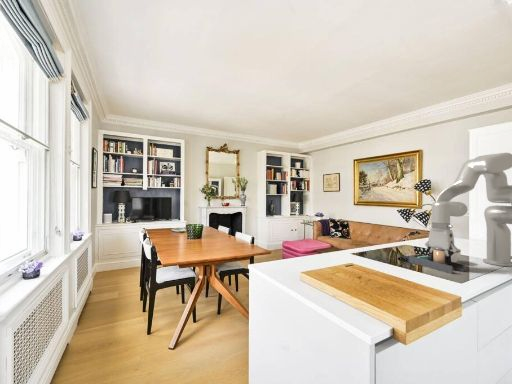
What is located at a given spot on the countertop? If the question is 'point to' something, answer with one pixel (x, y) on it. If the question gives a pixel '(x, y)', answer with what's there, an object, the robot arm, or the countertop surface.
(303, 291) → the countertop surface
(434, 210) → the robot arm
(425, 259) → the pusher
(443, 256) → the jar
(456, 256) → the lidded jar
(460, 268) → the lane
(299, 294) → the countertop surface
